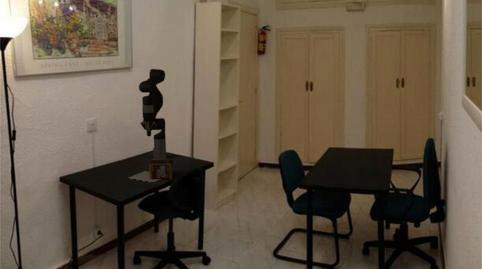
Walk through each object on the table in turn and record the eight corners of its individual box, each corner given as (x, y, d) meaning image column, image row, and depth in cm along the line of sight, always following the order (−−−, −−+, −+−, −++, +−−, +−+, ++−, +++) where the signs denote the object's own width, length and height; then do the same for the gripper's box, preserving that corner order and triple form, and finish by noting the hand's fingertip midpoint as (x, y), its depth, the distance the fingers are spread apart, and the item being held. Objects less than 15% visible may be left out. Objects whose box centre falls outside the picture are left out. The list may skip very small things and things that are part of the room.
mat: (127, 178, 332) (127, 177, 332) (145, 171, 349) (145, 171, 349) (153, 183, 322) (153, 182, 322) (170, 175, 339) (169, 175, 339)
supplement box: (150, 159, 342) (148, 164, 326) (172, 158, 343) (171, 164, 328) (151, 173, 344) (149, 179, 329) (173, 172, 345) (172, 178, 330)
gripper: (136, 111, 328) (138, 136, 331) (152, 112, 321) (153, 138, 325) (143, 109, 334) (145, 134, 338) (159, 111, 328) (160, 136, 332)
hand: (149, 136), depth 331 cm, fingers closed
